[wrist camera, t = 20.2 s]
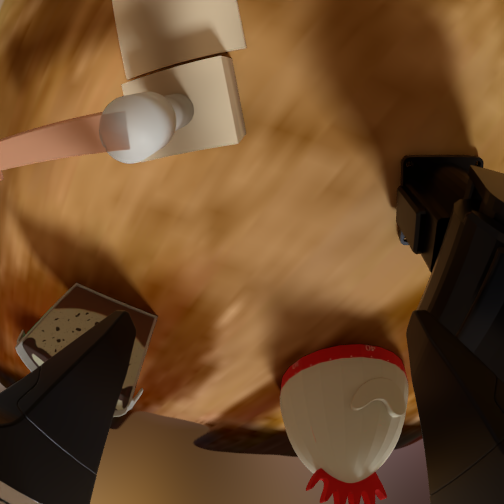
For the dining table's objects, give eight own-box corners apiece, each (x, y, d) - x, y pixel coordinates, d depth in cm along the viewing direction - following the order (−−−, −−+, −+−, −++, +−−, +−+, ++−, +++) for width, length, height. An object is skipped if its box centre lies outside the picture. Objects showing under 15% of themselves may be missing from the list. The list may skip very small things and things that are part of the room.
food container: (70, 316, 31) (27, 379, 23) (65, 277, 28) (10, 345, 20) (165, 356, 32) (135, 434, 24) (172, 321, 29) (134, 409, 20)
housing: (217, -85, 10) (186, -132, 4) (262, 131, 18) (246, 158, 13) (108, -46, 12) (50, -68, 6) (147, 152, 20) (95, 187, 14)
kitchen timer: (361, 419, 35) (365, 521, 23) (264, 400, 34) (247, 516, 22) (428, 357, 28) (457, 487, 15) (314, 329, 27) (311, 495, 14)
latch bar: (-19, 131, 13) (-39, 140, 11) (173, 78, 11) (155, 80, 10) (-9, 181, 15) (-27, 192, 13) (180, 158, 13) (164, 171, 12)
